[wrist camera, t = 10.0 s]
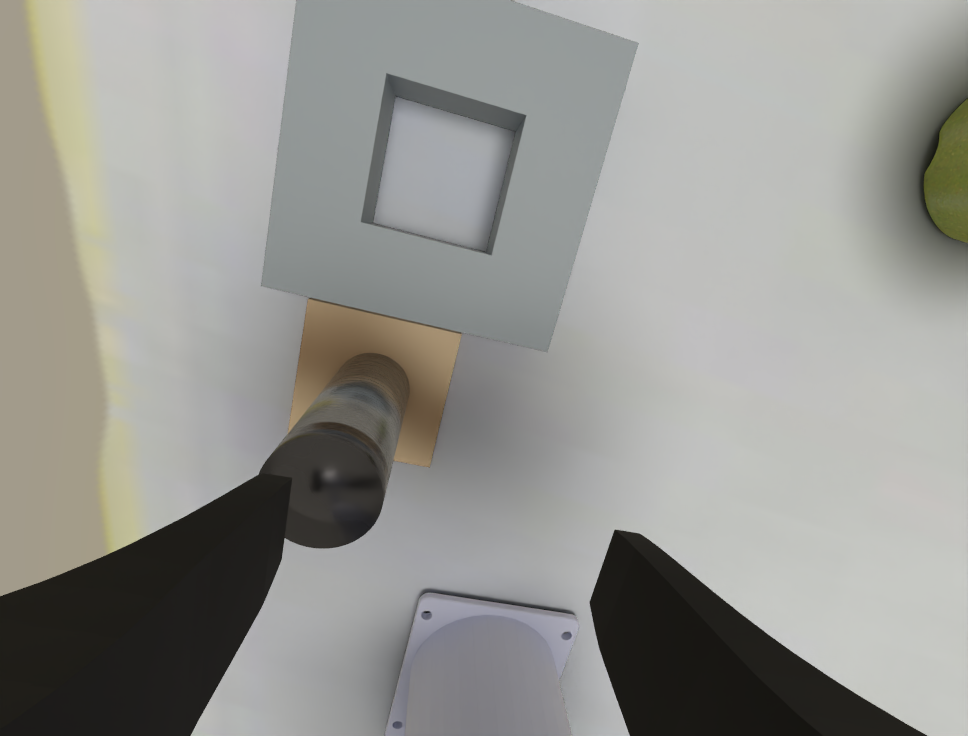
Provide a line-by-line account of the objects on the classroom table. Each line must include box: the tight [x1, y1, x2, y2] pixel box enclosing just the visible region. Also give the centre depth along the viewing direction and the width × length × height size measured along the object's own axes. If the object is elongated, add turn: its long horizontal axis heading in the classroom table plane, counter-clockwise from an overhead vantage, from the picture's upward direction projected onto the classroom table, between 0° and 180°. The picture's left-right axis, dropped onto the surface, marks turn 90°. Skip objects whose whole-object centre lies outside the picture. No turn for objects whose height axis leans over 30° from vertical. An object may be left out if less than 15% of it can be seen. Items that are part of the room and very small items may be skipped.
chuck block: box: [261, 0, 638, 352], centre depth 15 cm, size 20×10×2 cm, turn 166°
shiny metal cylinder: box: [259, 353, 410, 548], centre depth 15 cm, size 3×3×8 cm
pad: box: [288, 298, 462, 467], centre depth 19 cm, size 6×6×1 cm
